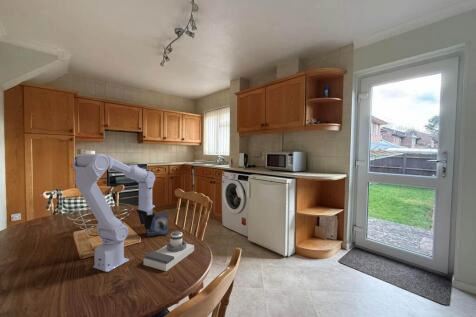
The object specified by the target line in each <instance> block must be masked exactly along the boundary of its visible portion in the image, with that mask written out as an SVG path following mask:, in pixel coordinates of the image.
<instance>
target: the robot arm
mask: <svg viewBox="0 0 476 317" xmlns="http://www.w3.org/2000/svg"><path fill="white" fill-rule="evenodd" d="M72 167H73V168H74V175H75V176H74V180H75V182H74V183H75V187H76V188H77V189H78V192H79V193H80V195H81V196H82V197H83V200H84V201H85V202H86V204H87V206H88V208H89V209H90V211H91V213H92V214H93V216H94V217H95V219H96V221H97V222H98V223H97V224H96V228H97V235H98V237H99V238H100V239H101V244H99V246H97V247H96V248H95V250H94V252H93V253H94V255H93V256H94V265H93V266H92V268H94V269H97V270H100V271H103V272H105V273H108V272H110V271H112V270H114V269H116V268H117V267H120V266H121V265H123V264H125V263H127V262H128V261H130V259H129V258H127V257H125V241H126V238H127V237H128V235H129V227H128V226H127V225H126V224H123V222H122V220H120V219H119V218H117V217H116V216H115V215H114V212H113V211H112V210H113V209H112V208H111V207H110V205H109V203H108V202H107V200H106V197H105V196H104V194H103V193H102V191H101V189H100V187H99V186H98V183H97V182H98V181H99V179H101V177H102V176H103V175H104V173H106V171H107V170H114V171H117V172H120V173H123V174H124V176H125V177H126V178H127V179H131V180H133V181H135V182H136V183H138V209H136V212H137V214H138V218H139V223H140V225H141V226H142V225H144V230H145V231H146V230H147V229H150V228H151V224H152V220H153V218H154V216H155V213H156V212H153V209H155V208H156V206H155V205H154V204H153V187H154V183H155V181H156V176H155V174H154V172H153V171H151V170H150V171H149V170H146V169H145V168H143V167H142V168H141V167H139V165H138V164H136V163H134V164H125V163H124V162H121V161H119V160H118V159H115V158H114V157H113V156H110V155H105V154H103V153H85V152H84V153H83V152H82V153H80V154H79V155H78V156H77V157H76V158H75V160H74V162H73V163H72Z"/></svg>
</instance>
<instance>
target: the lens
mask: <svg viewBox="0 0 476 317" xmlns="http://www.w3.org/2000/svg"><path fill="white" fill-rule="evenodd" d="M169 237H170V238H169V242H170V247H181V246H182V240H183V237H184V234H183V232H182V231H172V232H171V233H170V234H169Z"/></svg>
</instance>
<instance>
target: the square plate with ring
mask: <svg viewBox="0 0 476 317" xmlns="http://www.w3.org/2000/svg"><path fill="white" fill-rule="evenodd" d="M194 251H195V245H194V244H191V243H188V242H186V241H185V240H183V239H182V246H181V247H170V241H169V242H167V244H166V245H164V246H163V247H161V248H159V249H158V250H155V251H154V250H152V251H150V252H148V253H147V254H145V255H144V258H143V266H147V267H151V268H153V269H158V270H160V271H164V272H167V271H169V270H170V269H171V268H172V267H174V266H175V265H177V264H179V262H181V261H182V260H184V259H185V258H186V257H188V256H189V255H191V254H192V253H193V252H194Z"/></svg>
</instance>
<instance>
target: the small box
mask: <svg viewBox="0 0 476 317" xmlns="http://www.w3.org/2000/svg"><path fill="white" fill-rule="evenodd" d="M154 213H155V216H154V218H153V220H152V224H151V228H150V229H147V230H145V231H146V232H145V233H146V235H145V236H146V237H147V238H148V237H159V236H161V237H162V236H168V233H169V212H154Z"/></svg>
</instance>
